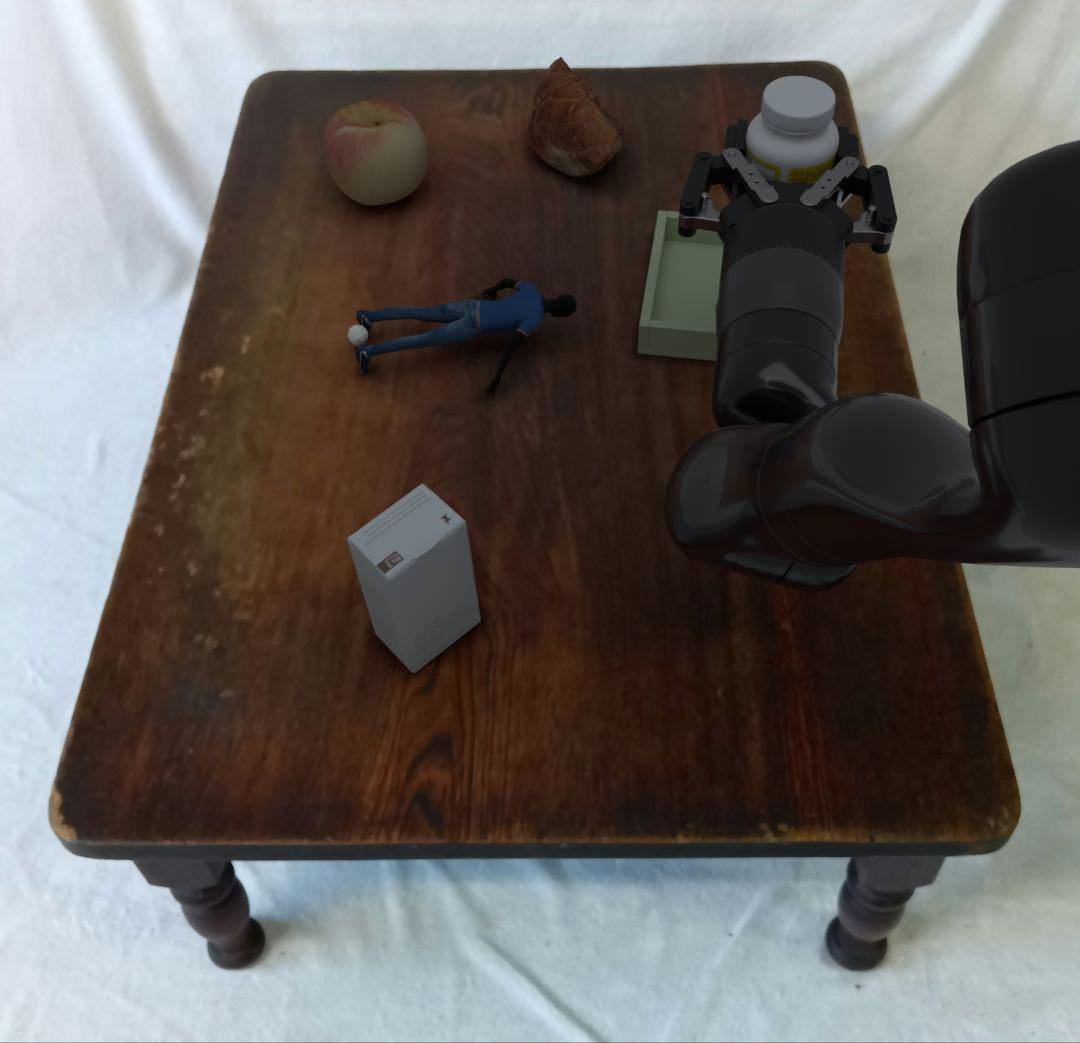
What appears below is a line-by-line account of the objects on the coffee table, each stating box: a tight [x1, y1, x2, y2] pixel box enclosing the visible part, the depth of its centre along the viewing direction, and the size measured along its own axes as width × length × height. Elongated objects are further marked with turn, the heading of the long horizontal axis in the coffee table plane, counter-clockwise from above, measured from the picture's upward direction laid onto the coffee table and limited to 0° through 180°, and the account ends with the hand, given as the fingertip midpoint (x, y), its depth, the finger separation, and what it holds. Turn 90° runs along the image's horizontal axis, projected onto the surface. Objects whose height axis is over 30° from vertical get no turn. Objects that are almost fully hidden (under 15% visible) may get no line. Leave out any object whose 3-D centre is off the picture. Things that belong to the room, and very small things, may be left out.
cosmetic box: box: [346, 483, 482, 674], centre depth 74 cm, size 6×4×12 cm
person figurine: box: [347, 277, 578, 395], centre depth 93 cm, size 11×4×18 cm
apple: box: [322, 99, 429, 206], centre depth 103 cm, size 9×9×8 cm
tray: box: [637, 209, 724, 362], centre depth 95 cm, size 15×14×3 cm
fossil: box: [525, 56, 626, 178], centre depth 106 cm, size 13×8×10 cm
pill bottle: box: [744, 75, 839, 185], centre depth 82 cm, size 6×6×11 cm
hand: (790, 133), depth 82 cm, fingers closed on pill bottle, 6 cm apart
